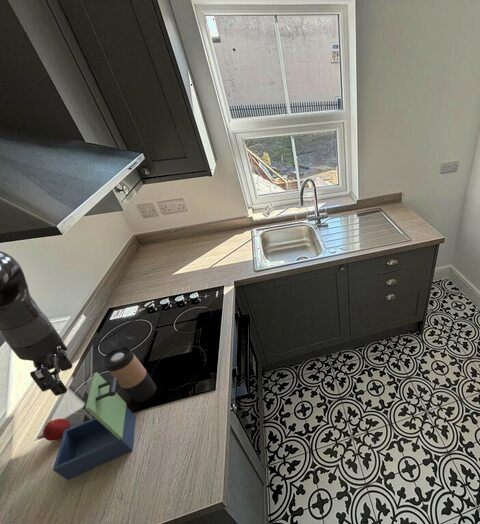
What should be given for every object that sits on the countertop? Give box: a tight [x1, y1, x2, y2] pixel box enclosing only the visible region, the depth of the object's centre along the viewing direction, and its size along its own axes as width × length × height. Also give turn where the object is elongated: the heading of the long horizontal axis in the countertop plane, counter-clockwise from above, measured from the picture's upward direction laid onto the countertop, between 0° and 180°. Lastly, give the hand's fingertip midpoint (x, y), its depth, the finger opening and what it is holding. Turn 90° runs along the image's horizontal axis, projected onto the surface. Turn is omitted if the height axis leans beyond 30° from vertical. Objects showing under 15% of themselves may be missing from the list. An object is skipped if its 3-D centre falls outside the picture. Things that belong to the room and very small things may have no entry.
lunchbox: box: [52, 405, 137, 481], centre depth 86 cm, size 16×12×7 cm
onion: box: [42, 418, 71, 442], centre depth 89 cm, size 6×6×8 cm
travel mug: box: [101, 346, 157, 403], centre depth 96 cm, size 8×8×20 cm
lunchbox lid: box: [85, 371, 127, 439], centre depth 82 cm, size 16×12×5 cm
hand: (64, 380), depth 74 cm, fingers open, 8 cm apart
